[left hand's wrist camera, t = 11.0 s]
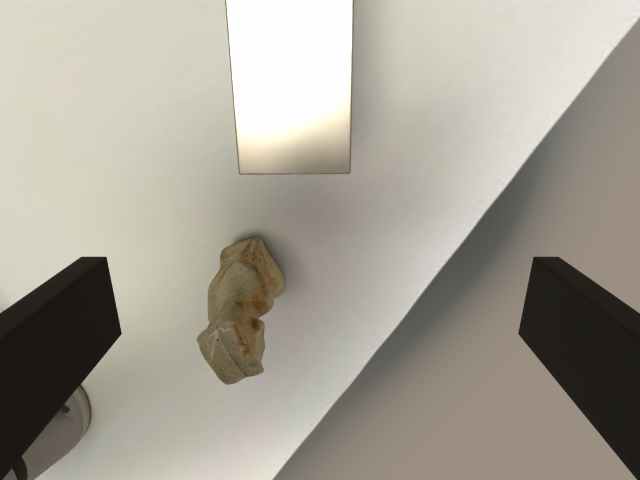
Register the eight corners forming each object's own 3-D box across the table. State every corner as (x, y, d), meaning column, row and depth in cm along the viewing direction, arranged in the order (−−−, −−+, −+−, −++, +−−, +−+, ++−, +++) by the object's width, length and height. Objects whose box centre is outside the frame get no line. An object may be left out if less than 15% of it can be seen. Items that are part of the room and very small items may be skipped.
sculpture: (244, 300, 44) (206, 400, 30) (217, 241, 42) (161, 320, 27) (295, 284, 43) (280, 379, 29) (270, 223, 41) (240, 295, 27)
